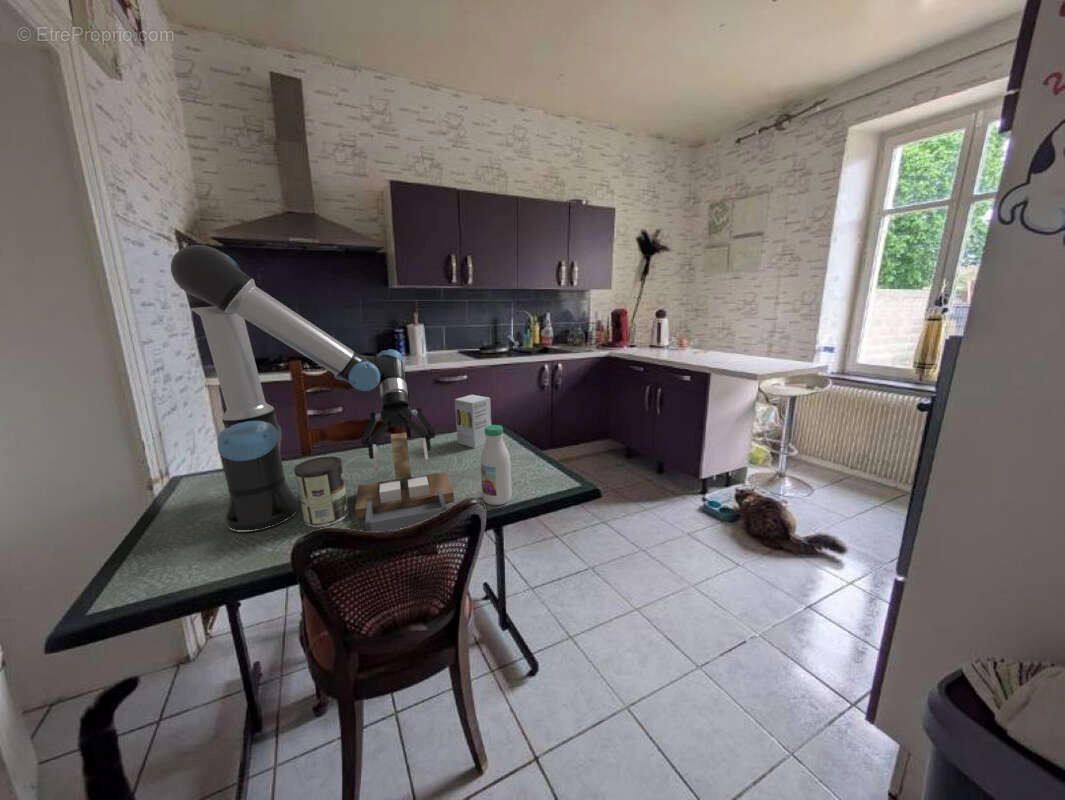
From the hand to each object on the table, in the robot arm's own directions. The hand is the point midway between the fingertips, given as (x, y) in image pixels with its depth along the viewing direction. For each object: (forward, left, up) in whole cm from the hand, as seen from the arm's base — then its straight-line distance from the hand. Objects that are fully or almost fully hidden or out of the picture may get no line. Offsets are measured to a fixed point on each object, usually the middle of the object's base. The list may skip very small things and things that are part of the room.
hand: (402, 465), depth 110 cm
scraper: (0, +3, -6) cm, 7 cm away
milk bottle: (+23, -11, -9) cm, 27 cm away
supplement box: (+26, +34, -9) cm, 44 cm away
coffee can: (-19, -4, -9) cm, 21 cm away
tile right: (+3, -5, -6) cm, 9 cm away
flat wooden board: (0, -1, -9) cm, 9 cm away
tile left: (-4, -5, -6) cm, 9 cm away
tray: (0, -13, -9) cm, 16 cm away
